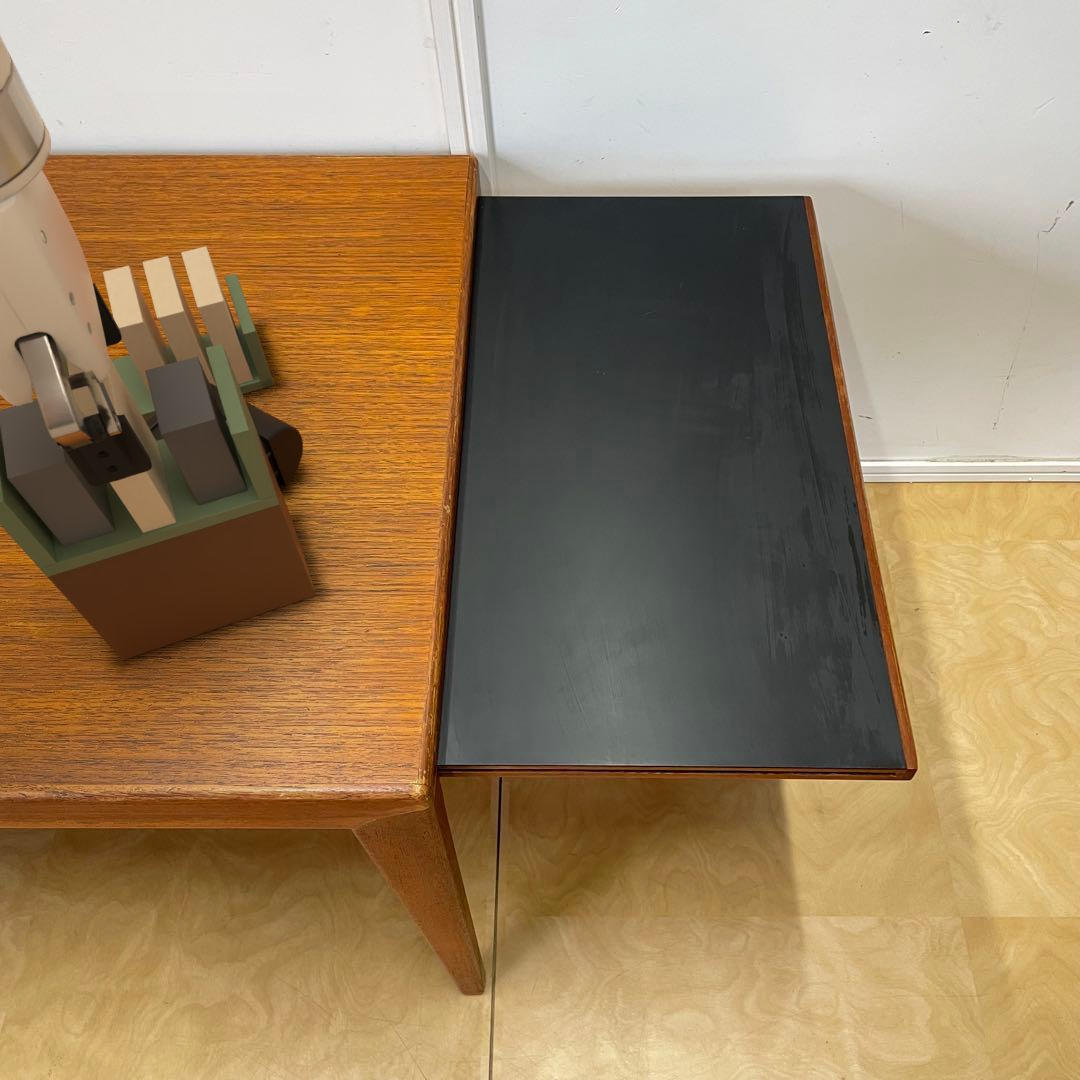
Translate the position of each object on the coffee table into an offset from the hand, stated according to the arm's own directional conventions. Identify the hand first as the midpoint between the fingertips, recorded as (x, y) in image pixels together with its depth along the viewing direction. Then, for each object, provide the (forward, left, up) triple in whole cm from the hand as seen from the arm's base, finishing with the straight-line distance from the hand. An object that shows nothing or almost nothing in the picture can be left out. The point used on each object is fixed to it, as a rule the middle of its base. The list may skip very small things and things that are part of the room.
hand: (108, 407), depth 51 cm
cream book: (0, 0, -7) cm, 7 cm away
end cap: (+4, +10, -21) cm, 23 cm away
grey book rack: (0, 0, -20) cm, 20 cm away
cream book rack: (+1, +21, -20) cm, 29 cm away
